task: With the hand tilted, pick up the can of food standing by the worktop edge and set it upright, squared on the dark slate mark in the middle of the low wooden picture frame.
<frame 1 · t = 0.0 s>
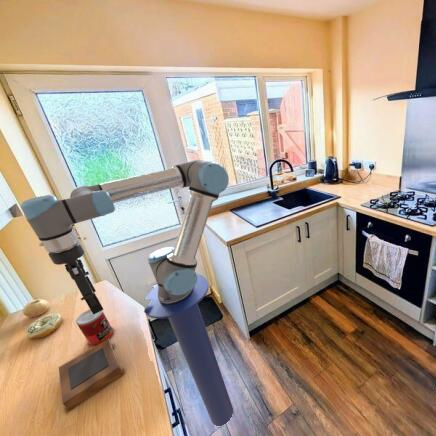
hand: (94, 301, 82), 20 cm above the countertop, tool pointing down, fingers open, 13 cm apart
decorated donut: (47, 329, 100), on the countertop
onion: (39, 313, 109), on the countertop
canned food: (101, 337, 93), on the countertop
wooden picture frame: (93, 374, 79), on the countertop
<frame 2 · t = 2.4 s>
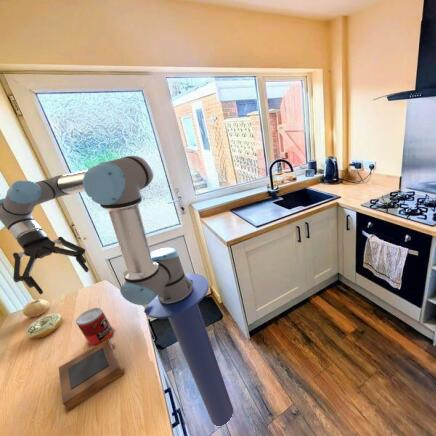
hand: (65, 281, 88), 23 cm above the countertop, tool tilted 40°, fingers open, 13 cm apart
nothing on the countertop moved.
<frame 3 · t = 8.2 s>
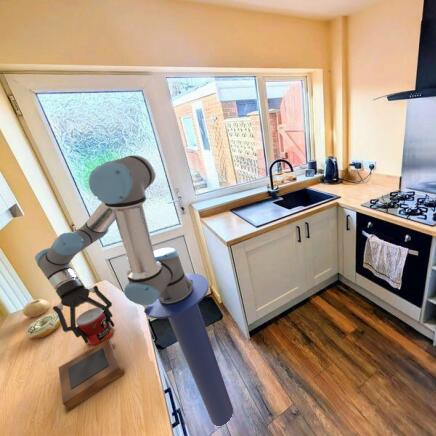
hand: (100, 333, 90), 4 cm above the countertop, tool tilted 45°, fingers closed on canned food, 8 cm apart
canned food: (101, 337, 93), on the countertop, touching gripper
everything else where it was.
when the fingers open (7 cm above the countertop, at t = 15.9 s): canned food stays where it is, resting on wooden picture frame.
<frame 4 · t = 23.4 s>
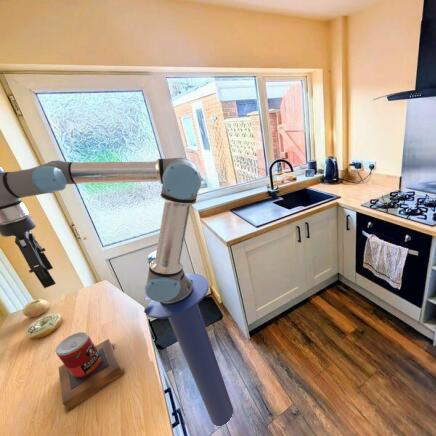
hand: (49, 277, 82), 29 cm above the countertop, tool pointing down, fingers open, 13 cm apart
canned food: (88, 366, 78), point 4 cm above the countertop, touching wooden picture frame
everything else where it was.
at the end: canned food 0.1 cm off-centre on the wooden picture frame, point 3.5 cm above the wooden picture frame's base; canned food tilted 0°; the gripper is holding nothing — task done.
